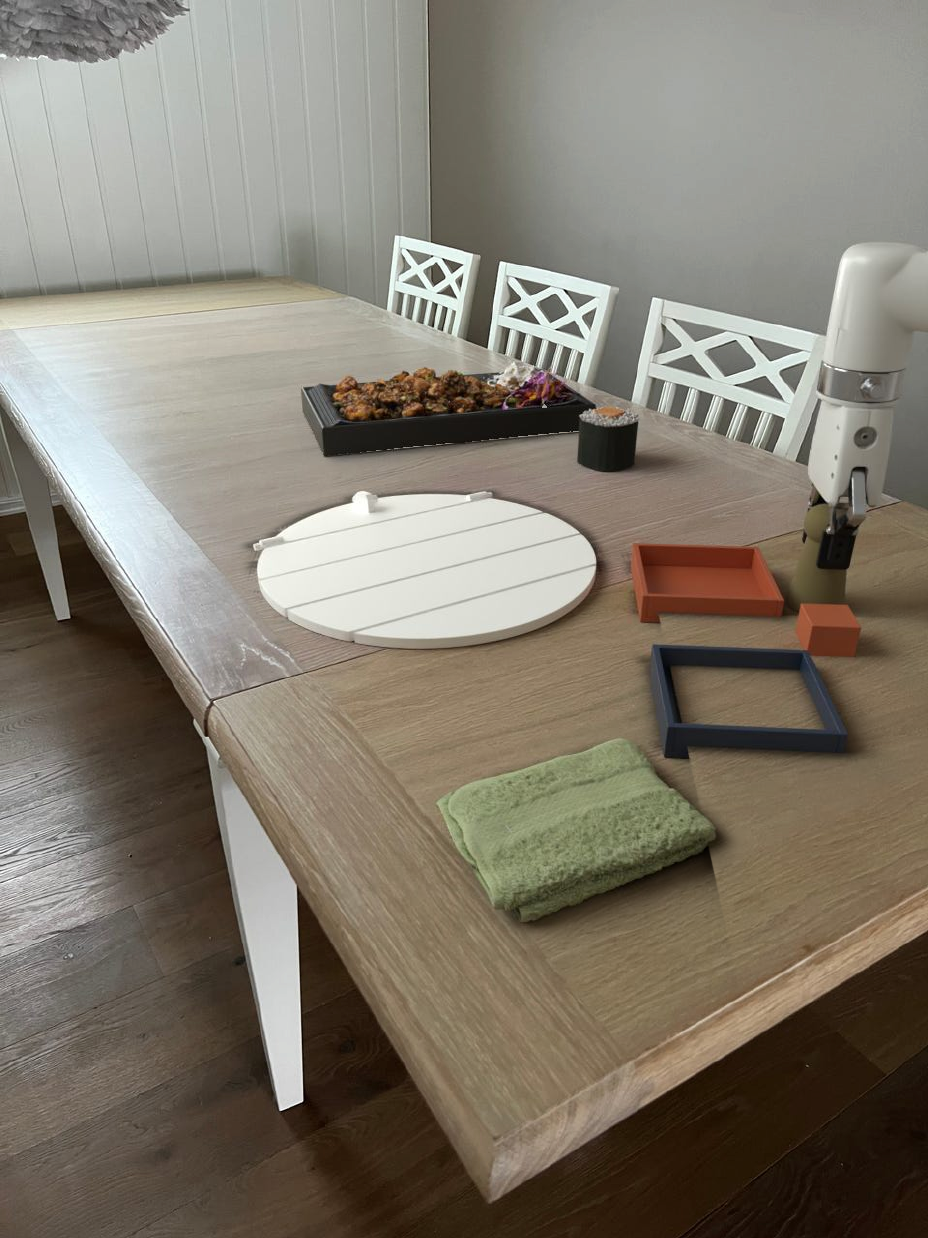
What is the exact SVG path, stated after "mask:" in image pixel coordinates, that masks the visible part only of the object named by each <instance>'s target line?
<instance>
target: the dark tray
mask: <svg viewBox="0 0 928 1238" xmlns="http://www.w3.org/2000/svg"><path fill="white" fill-rule="evenodd" d="M671 666H685V667H686V666H687V667H689V666H690V667H709V668H710V667H713V668H735V669H736V668H738V669H761V670H763V669H764V670H789V671H792V670H793V671H799V673H800V674H801V677H802V679H803V681H804V683H805V687H806V688H807V690H808V693H809V695H810V698H811V699H812V702H813V705H814V706H815V708H816V711H817V714H818V715H819V717H820V720H821V722H822V724H823V727H824V728H825V729H819V728H818V729H817V728H794V727H775V726H774V727H773V726H750V725H726V724H705V723H704V724H703V723H683V721H682V716H681V712H680V707H679V703H678V698H677V694H676V693H677V692H676V689H675V684H674V679H673V675H672V669H671ZM648 674H649V679H650V685H651V691H652V697H653V702H654V708H655V713H656V719H657V725H658V731H659V736H660V742H661V749H662V754H663V758H672V759H673V758H675V759H690V752H689V749H688V747H699V748H720V749H742V750H761V751H763V750H765V751H782V752H783V751H784V752H786V751H787V752H806V753H827V754H828V753H830V754H844V753H845V750H846V745H847V741H848V736H849V734H848V732H847V730H846V727H845V726H844V725H845V724H843V722H842V719H841V716H840V715H839V712H838V711H837V708H836V706H835V705H834V702H833V700H832V697H831V696H830V694H829V692H828V689H827V688H826V685H825V683H824V681H823V679H822V677H821V675H820V673H819V670H818V669H817V666H816V664H815V662H814V660H813V658H812V655H810V654H809V652H808V650H803V649H802V650H801V649H790V648H789V649H787V648H762V647H759V648H758V647H734V646H732V647H731V646H709V645H684V644H683V645H682V644H680V645H679V644H657V643H655V644H654V643H653V644H651V651H650V661H649V669H648Z"/></svg>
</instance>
